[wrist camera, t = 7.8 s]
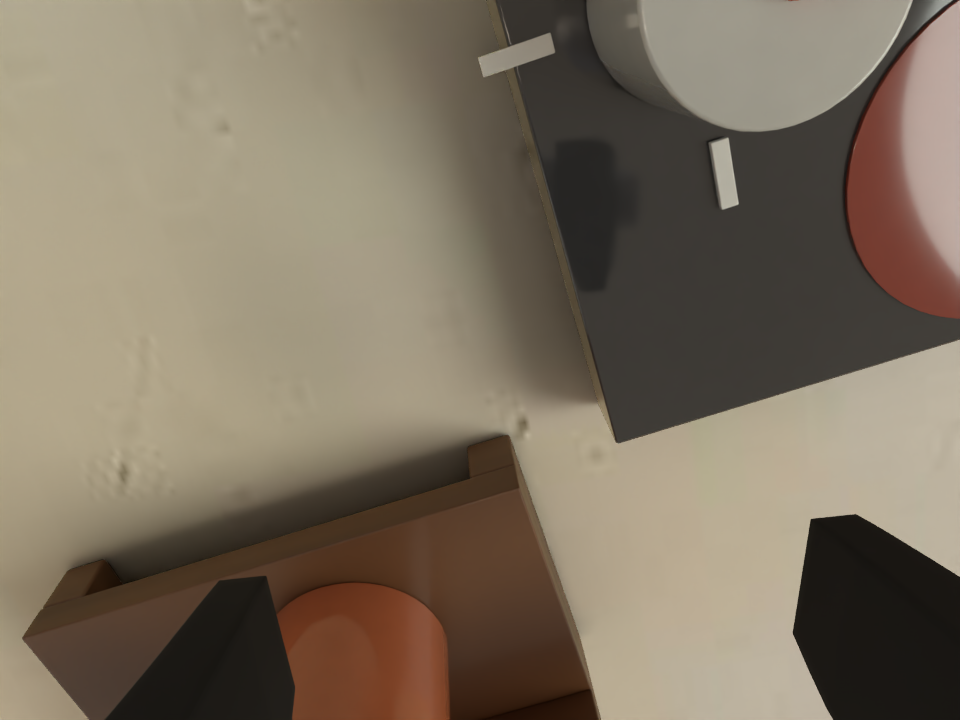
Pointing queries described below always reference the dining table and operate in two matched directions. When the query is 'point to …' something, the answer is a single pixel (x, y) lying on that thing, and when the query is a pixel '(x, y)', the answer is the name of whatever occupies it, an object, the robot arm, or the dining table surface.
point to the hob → (697, 233)
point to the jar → (365, 655)
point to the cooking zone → (912, 173)
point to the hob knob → (744, 54)
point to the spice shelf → (367, 559)
